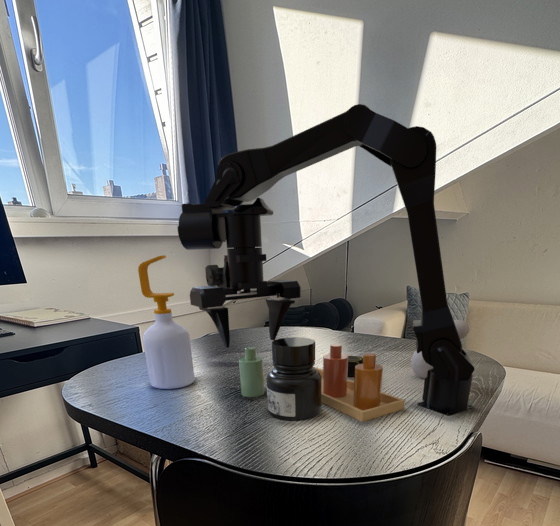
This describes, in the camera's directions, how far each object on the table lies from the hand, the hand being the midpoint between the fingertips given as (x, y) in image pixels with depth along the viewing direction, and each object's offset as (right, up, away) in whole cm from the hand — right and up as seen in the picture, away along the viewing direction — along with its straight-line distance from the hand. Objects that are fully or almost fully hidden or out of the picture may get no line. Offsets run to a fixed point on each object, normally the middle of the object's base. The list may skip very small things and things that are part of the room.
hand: (250, 343), depth 73 cm
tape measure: (+20, -3, +15) cm, 25 cm away
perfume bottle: (+37, -5, +10) cm, 39 cm away
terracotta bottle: (+15, -9, +2) cm, 18 cm away
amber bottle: (+20, -12, -5) cm, 23 cm away
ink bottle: (+8, -13, -5) cm, 16 cm away
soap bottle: (-17, -6, +13) cm, 22 cm away
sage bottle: (0, -9, +4) cm, 10 cm away
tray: (+15, -9, +2) cm, 18 cm away
